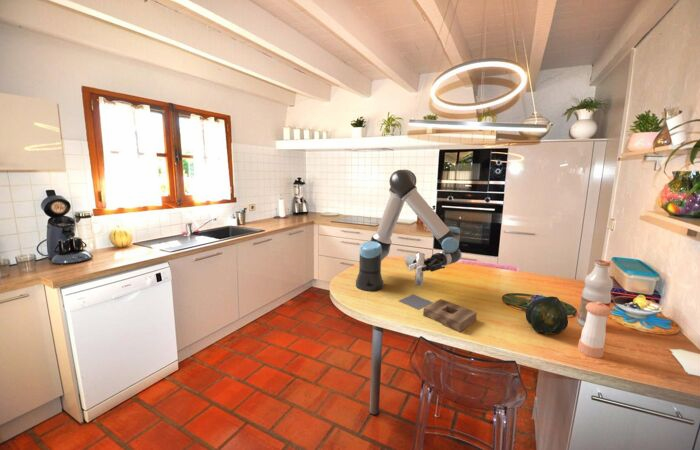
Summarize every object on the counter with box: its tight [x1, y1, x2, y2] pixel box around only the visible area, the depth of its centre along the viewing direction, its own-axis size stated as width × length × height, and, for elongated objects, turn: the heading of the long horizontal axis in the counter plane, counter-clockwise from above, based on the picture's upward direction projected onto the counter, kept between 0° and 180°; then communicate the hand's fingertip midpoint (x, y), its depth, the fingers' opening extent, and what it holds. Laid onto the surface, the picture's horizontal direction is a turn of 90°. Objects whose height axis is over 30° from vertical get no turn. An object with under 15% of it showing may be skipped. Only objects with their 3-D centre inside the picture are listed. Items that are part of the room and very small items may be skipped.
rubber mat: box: [398, 294, 434, 311], centre depth 146 cm, size 12×12×1 cm
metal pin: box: [414, 252, 425, 287], centre depth 142 cm, size 4×4×15 cm
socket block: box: [422, 298, 478, 333], centre depth 131 cm, size 17×14×4 cm
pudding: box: [531, 294, 546, 302], centre depth 144 cm, size 12×12×5 cm
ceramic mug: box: [404, 253, 417, 266], centre depth 200 cm, size 11×8×8 cm
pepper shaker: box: [577, 302, 612, 359], centre depth 107 cm, size 7×7×19 cm
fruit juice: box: [577, 259, 614, 328], centre depth 125 cm, size 9×9×28 cm
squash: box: [524, 296, 569, 335], centre depth 122 cm, size 14×15×15 cm
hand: (412, 269), depth 138 cm, fingers closed on metal pin, 4 cm apart
